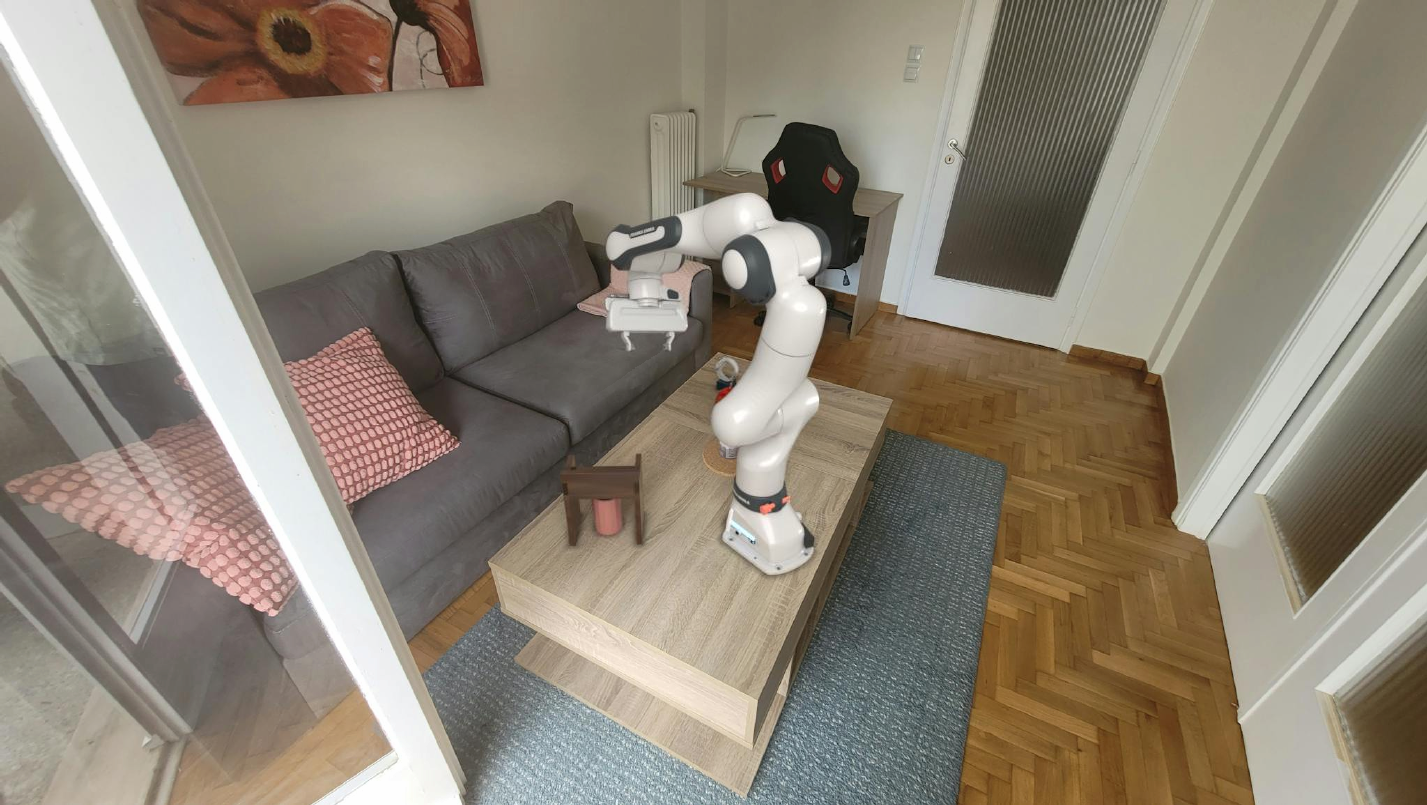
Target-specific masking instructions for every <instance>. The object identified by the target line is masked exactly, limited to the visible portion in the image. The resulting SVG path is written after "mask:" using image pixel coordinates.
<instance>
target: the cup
mask: <svg viewBox="0 0 1427 805" xmlns="http://www.w3.org/2000/svg"><path fill="white" fill-rule="evenodd" d="M591 503H592V512H593V522H594V528H595V531H596V532H597V533H598V534H600V535H604V536H611V535H615V534H617V533H619V532H620V531H621V530H622V528H623V526H624V519H623V505H622V499H591Z"/></svg>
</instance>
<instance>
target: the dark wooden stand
mask: <svg viewBox="0 0 1427 805" xmlns="http://www.w3.org/2000/svg"><path fill="white" fill-rule="evenodd" d="M575 458H576V457H575V454H574V453H573V454H571V453H570V454H568V456H567V460H566V464H565V468H564V469H561V470H560V475H559V476H560V482H561V490H562V496H563V501H564V502H563V503H564V510H565V518H566V525H567V532H568V538H569V546H571V547H574V546H575V547H576V546H577V539H578V535H579V531H580V525H581V520H582V509H581V501H580V500H592V499H621V500H623V499H624V500H625V499H627V500H629V499H632V500H633V499H634V514H635V534H636V545H643V538H644V537H643V536H644V523H645V522H644V520H645V519H644V518H645V507H644V485H643V484H644V483H643V461H642V460H643V459H642V453H635V462H634V465H600V466H599V465H597V466H596V465H595V466H594V465H593V466H592V465H591V466H585V465H584V466H576V459H575Z"/></svg>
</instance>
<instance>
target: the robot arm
mask: <svg viewBox="0 0 1427 805" xmlns="http://www.w3.org/2000/svg"><path fill="white" fill-rule="evenodd" d="M604 251H605V255H606V258H607V260H608V261H609V263H610V264H611V265H612V266H613V267H614V268H615V269H616V270H617V271H623V272H625V271H626V272H627V278H626V291H627V292H626V293H610V294H609V295H606V297H605V299H604V309H605V311H606V316H605V330H606V331H607V332H608V333H609V334H620V337H621V339H622V341H623V343H624V344H625V347H626V352H635V349H636V348H635V343H634V342H631V340H630V338H629V337H630V334H665V338H667V340H666V343H663V344H662V351H663V352H671V351H672V344H673V340H674V339H675V336H676V335H675V334H682V333H685V332H686V331H687V329H688V327H689V326H688V324H689V323H688V315H687V309H686V306H685V305H684V303H683V302H681V301H682V300H683V297H684V296H683V293H682V292H681V291H679V290H678V289H677V290H676V289H674V288H671V287H668V286H667V285H664V281H663V275H664V274H666V275H669V274H674V273H677V272H678V271H679V270H680V269H681V268H682V267H683V266H684V264H685V261H686V256H690V257H695V258H701V259H702V258H703V259H709V260H720V271H721V275H722V278H723V280H724V282H725V284H726V285H727V286H728V287H729V288H730V289H731V290H732V291H733V293H735V294H736V295H737V296H739V297H741V298H743V299H745V300H747V302H748V303H749V304H750V305H751V306H755V307H762V306H764V305H765V310H766V313H765V318H764V321H763V325H762V327H761V330H760V334H759V338H758V341H757V344H756V347H755V350H754V353H753V357H752V360H751V361H750V363H749V365H748V367H747V368H746V370H745V372H744V373H743V374H742V375H741V377H740V378H739V380H737V382H736V385H735V387H734V388H733V389H732V390H731V391H730V392H729V393H728V394H727V395H726V396H725V397H724V398H723V399H722V400H721V401H719V402H718V403H717V404H716V405H715V406H714V405H713V407H712V410H711V413H710V425H711V429H712V432H713V434H714V435H715V437H716V439H717V440H718V441H719V442H720V443H722V444H723V445H724V446H726V447H729V448H734V447H739V448H738V451H737V454H736V465H735V466H736V467H735V475H734V477H733V482H732V495H733V497H732V501H731V504H730V507H729V511H728V515H727V518H726V521H725V529H724V531H723V533H722V537H721V541H722V542H723V543H725V544H726V545H727V546H728V547H730V548H731V549H732V550H734V551H735V552H736V553H737V554H739V555H740V556H741V557H742V558H744V559H746V560H747V561H748V562H750V563H751V564H752V565H754V566H755V567H756V568H758V569H759V570H760V571H761V572H763V573H764V574H765V575H767V576H777V575H784V574H786V573H788V572H789V573H790V572H791V571H794V570H795V569H798V568H799V567H801V566H803V565H804V564H805V563H807V562H808V561H809V560H810V559H811V558H812V556H813V555H814V551H815V548H814V545H815V537H814V535H813V533H812V532H811V531H810V530H809V528H807V526H806V525H805V524H804V523H803V522H801V521H802V519H803V515H802V514H801V512H800V511H795V510H794V508H793V506H792V504H791V497H792V495H788V489H787V485H786V480H785V476H786V471H787V464H788V460H789V457H790V454H791V452H792V449H793V447H794V446H795V443H796V441H797V439H798V437H799V436H800V434H801V432H802V430H803V429H804V427H805V426H806V425H807V423H808V422H809V421H810V420H811V419H812V417H814V416H815V415H816V413H817V412H818V410H819V406H820V395H819V392H818V390H817V389H818V388H817V387H816V386H815V384H814V383H813V382H812V381H811V380H810V379H809V378H808V374H809V371H810V369H811V367H812V364H813V362H814V358H815V355H816V353H817V350H818V348H819V344H820V342H821V339H822V336H823V332H824V326H825V322H826V315H827V309H828V308H827V299H826V297H825V296H824V294H823V293H822V292H821V290H820V289H818V288H817V287H815V286H814V285H812V284H810V283H809V282H810V281H813V280H814V279H816V278H817V277H819V276H820V275H822V273H824V272H825V271H826V269H827V268H828V267H829V265H830V262H831V259H832V245H831V242H830V239H829V237H828V235H827V234H826V232H825V231H824V230H823V229H822V228H821V227H820V226H817V225H816V224H811V223H809V222H805V221H800V220H798V219H796V218H794V217H789V216H788V217H786V218H785V219H784V220H782V221H780V220H777V219H776V218H775V216H774V214H773V211H772V208H771V206H770V204H769V202H768V201H766V199H765V198H764V197H763V196H761V195H759V194H756V193H754V192H753V193H752V192H744V193H736V194H731V195H727V196H725V197H721V198H719V199H717V200H714V201H711V202H709V203H706V204H703V205H701V206H698V207H696V208H693V209H690V210H687V211H683V212H679V213H677V214H673V215H670V216H666V217H661V218H657V219H655V220H651V221H648V222H645V223H641V224H638V225H635V226H631V225H629V224H625V223H624V224H623V223H619V224H617V226H615V227H614V228H613V229H611V231H610V232H609V233H608V235H607V237H606V240H605V246H604Z"/></svg>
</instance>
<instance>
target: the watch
mask: <svg viewBox="0 0 1427 805" xmlns="http://www.w3.org/2000/svg"><path fill="white" fill-rule="evenodd" d="M727 363H729V364H730V365H731V366H732V367H733V369H734V371H733V374H732V375H731V376H734V375H735V374H736V375H735V376H737V375H738V374H739V372H740V371H739V364H738V363H737V362H736V360H734V359H733V358H732V357H729V356H727V357H726V356H724V357H722V358H721V359H720V360H719V361H718V362H717V363H716V364H715V366H714V369H715V372H716V375H717V376H718V378H719V379H718V380H716V390H717V391H720V390H722V389H724V388H726V387H730V386H731V385H730V383H731V382H732V379H733V377H731V376H730V375H728V374H724V373H723V371H722V369H723V368H724V366H726V364H727ZM738 376H739V375H738ZM737 383H738V378H734V379H733V382H732V386H731V387H733V388H734V387H735V385H736V384H737Z"/></svg>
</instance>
